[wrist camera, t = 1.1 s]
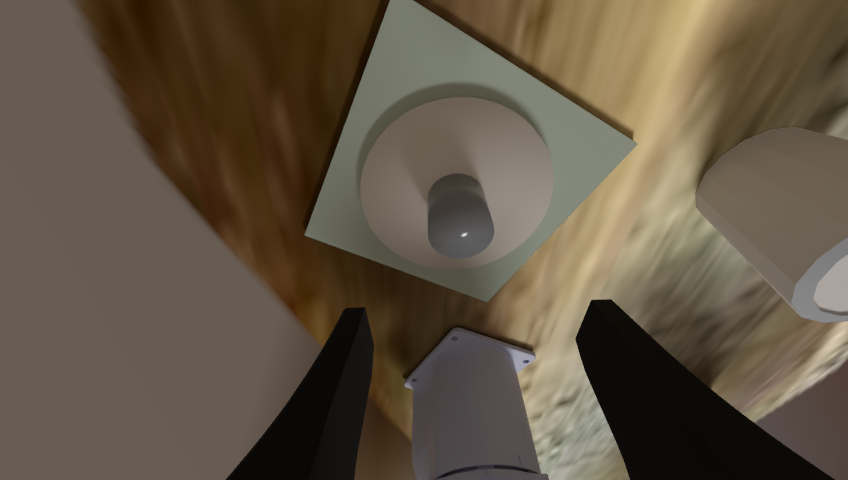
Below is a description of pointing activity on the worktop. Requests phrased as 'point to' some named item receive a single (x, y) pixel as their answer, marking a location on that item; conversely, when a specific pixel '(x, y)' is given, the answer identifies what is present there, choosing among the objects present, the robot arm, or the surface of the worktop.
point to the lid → (456, 182)
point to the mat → (443, 77)
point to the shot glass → (787, 215)
